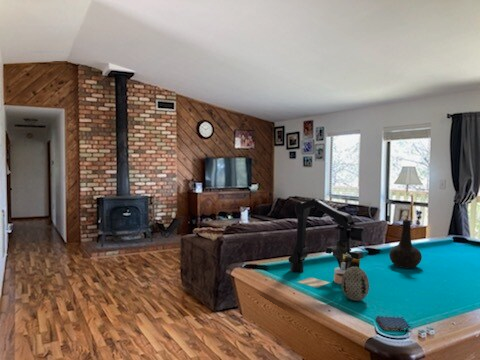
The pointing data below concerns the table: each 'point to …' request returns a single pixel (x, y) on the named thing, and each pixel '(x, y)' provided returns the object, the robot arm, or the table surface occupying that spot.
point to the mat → (313, 282)
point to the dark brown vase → (405, 249)
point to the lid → (341, 268)
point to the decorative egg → (355, 283)
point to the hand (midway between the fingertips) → (343, 269)
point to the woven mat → (392, 323)
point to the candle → (352, 262)
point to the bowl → (338, 278)
